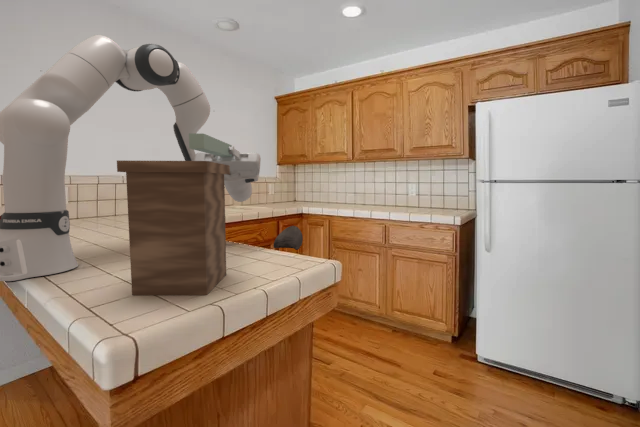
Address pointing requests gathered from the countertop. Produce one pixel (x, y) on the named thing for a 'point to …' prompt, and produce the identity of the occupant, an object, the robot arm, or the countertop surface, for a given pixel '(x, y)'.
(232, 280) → the countertop surface
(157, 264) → the pedestal
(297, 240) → the stone
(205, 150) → the bar
